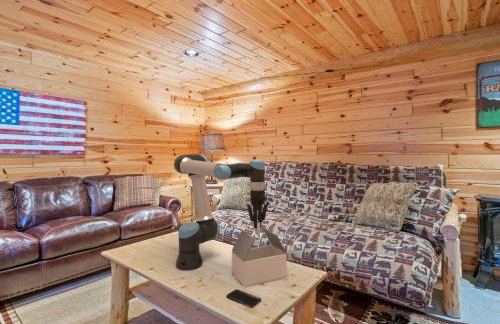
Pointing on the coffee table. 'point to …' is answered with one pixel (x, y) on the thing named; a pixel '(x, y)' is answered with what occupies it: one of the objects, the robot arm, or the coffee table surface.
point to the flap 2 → (274, 240)
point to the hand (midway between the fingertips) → (257, 234)
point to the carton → (259, 266)
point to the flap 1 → (243, 245)
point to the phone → (243, 298)
